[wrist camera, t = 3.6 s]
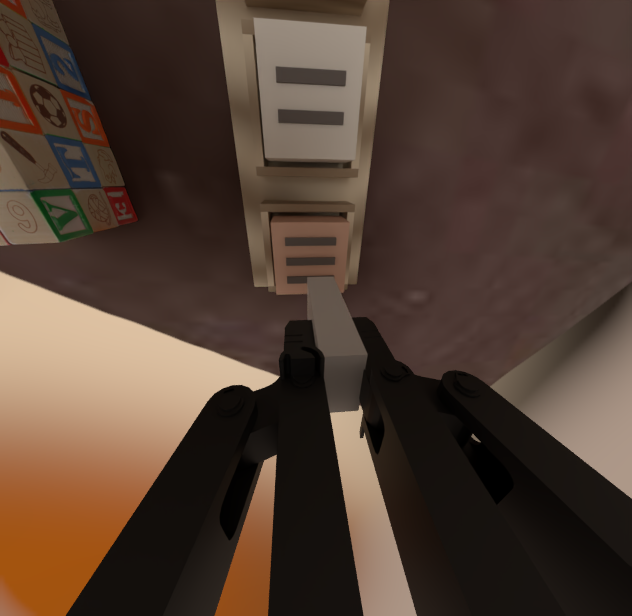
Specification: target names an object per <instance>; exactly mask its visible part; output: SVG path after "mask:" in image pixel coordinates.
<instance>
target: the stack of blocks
mask: <svg viewBox="0 0 632 616" xmlns="http://www.w3.org/2000/svg"><path fill="white" fill-rule="evenodd" d="M124 186H125V183H124V181H123V178H122V176H121V173H120V170H119V168H118V165H117V163H116V160H115V158H114V155H113V153H112V151H111V149H110V146H109V142H108V140H107V137H106V134H105V132H104V129H103V126H102V124H101V121H100V118H99V116H98V114H97V111H96V108H95V106H94V104H93V103H92V101H91V98H90V95H89V93H88V90H87V88H86V85H85V83H84V80H83V77H82V75H81V72H80V70H79V67H78V65H77V62H76V60H75V57H74V54H73V52H72V50H71V48H70V47H69V43H68V40H67V37H66V35H65V32H64V30H63V27H62V25H61V22H60V20H59V17H58V14H57V12H56V9H55V7H54V4H53V1H52V0H0V246H6V245H12V244H37V243H58V242H64V241H68V240H71V239H75V238H79V237H82V236H86V235H90V234H93V232H98V231H103V230H106V229H111V228H115V227H118V226H119V225H124V224H129V223H133V222H136V221H138V218H137V216H136V214H135V211H134V209H133V206H132V204H131V201H130V199H129V196H128V194H127V192H126V189H125V188H124Z"/></svg>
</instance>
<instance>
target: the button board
mask: <svg viewBox="0 0 632 616" xmlns="http://www.w3.org/2000/svg"><path fill="white" fill-rule="evenodd" d="M216 7H217V15H218V22H219V29H220V37H221V44H222V51H223V59H224V66H225V73H226V81H227V88H228V95H229V103H230V110H231V117H232V125H233V132H234V140H235V147H236V154H237V162H238V169H239V176H240V184H241V191H242V198H243V206H244V213H245V220H246V228H247V235H248V242H249V250H250V257H251V264H252V272H253V279H254V286H255V287H268V290H269V292H276V282H275V270H274V258H273V246H272V234H271V220H272V218H273V216H342V217H343V218H344V219H346V220H347V221H349V222H350V226H349V237H348V249H347V261H346V272H345V284H344V290H347V286H348V284H357V275H358V267H359V258H360V250H361V241H362V232H363V224H364V215H365V207H366V198H367V189H368V181H369V172H370V163H371V155H372V146H373V138H374V129H375V120H376V112H377V103H378V95H379V86H380V77H381V69H382V60H383V51H384V43H385V34H386V26H387V17H388V8H389V0H216ZM254 18H265V19H278V20H290V21H302V22H314V23H327V24H339V25H351V26H364V27H367V29H366V41H365V52H364V64H363V75H362V87H361V99H360V110H359V122H358V133H357V145H356V156H355V160H353V161H350V162H346V163H322V162H280V161H269V160H267V159H266V158H265V150H264V138H263V126H262V114H261V102H260V90H259V78H258V66H257V54H256V42H255V30H254Z"/></svg>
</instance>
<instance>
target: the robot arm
mask: <svg viewBox="0 0 632 616" xmlns="http://www.w3.org/2000/svg"><path fill="white" fill-rule="evenodd" d="M307 318H308V320H298V321H289V323H288V324H287V326H286V327H285V339H284V351H283V352H282V353H281V355H280V358H279V367H280V377H279V378H278V379H277V381H276V382H274V383H273V384H271V385H269V386H267V387H265V388H262V389H259V390H256V391H252V390H251V389H250V388H249V387H246V386H242V385H232V386H229V387H226V388H223V389H221V390H220V391H218V392H217V393H215V394H214V395H213V396H212V397H211V398H210V399H209V401H208V402H207V403H206V405H205V406H204V408H203V409H202V411H201V412H200V414H199V415H198V417H197V418H196V420H195V421H194V423H193V424H192V426H191V428H190V429H189V430H188V432H187V433H186V435H185V437H184V438H183V440H182V441H181V442H180V444H179V446H178V447H177V449H176V450H175V452H174V453H173V455H172V456H171V458H170V459H169V461H168V462H167V464H166V465H165V467H164V468H163V470H162V471H161V473H160V474H159V476H158V477H157V479H156V480H155V482H154V483H153V485H152V486H151V488H150V489H149V491H148V492H147V494H146V495H145V497H144V498H143V500H142V501H141V503H140V504H139V506H138V507H137V509H136V510H135V512H134V513H133V515H132V516H131V518H130V519H129V521H128V522H127V524H126V525H125V527H124V528H123V530H122V532H121V533H120V535H119V536H118V538H117V539H116V541H115V542H114V544H113V545H112V547H111V548H110V550H109V551H108V553H107V554H106V556H105V557H104V559H103V560H102V562H101V563H100V565H99V566H98V568H97V569H96V571H95V572H94V574H93V575H92V577H91V579H90V580H89V581H88V583H87V584H86V586H85V587H84V589H83V590H82V592H81V593H80V595H79V596H78V598H77V599H76V601H75V602H74V604H73V606H72V607H71V608H70V610H69V611H68V613H67V614H66V616H214V615H215V612H216V609H217V606H218V603H219V600H220V597H221V593H222V590H223V587H224V584H225V581H226V578H227V575H228V571H229V568H230V565H231V562H232V559H233V556H234V553H235V549H236V546H237V543H238V540H239V537H240V534H241V531H242V527H243V525H244V521H245V518H246V515H247V512H248V509H249V506H250V503H251V500H252V496H253V493H254V490H255V487H256V484H257V481H258V478H259V475H260V471H261V468H262V465H263V462H264V460H266V459H268V458H270V457H272V456H274V455H277V459H276V480H275V497H274V498H275V499H274V515H273V535H272V553H271V571H270V590H269V609H268V616H363V610H362V604H361V598H360V592H359V586H358V580H357V574H356V568H355V562H354V556H353V550H352V544H351V537H350V531H349V525H348V519H347V513H346V507H345V501H344V495H343V490H342V484H341V477H340V471H339V466H338V459H337V453H336V447H335V441H334V435H333V429H332V423H331V417H330V413H331V412H345V411H357V410H358V409H359V403H361V406H362V410H363V417H362V422H361V427H360V438H363V436H364V432H365V435H366V439H367V443H368V446H369V449H370V453H371V456H372V460H373V463H374V467H375V471H376V474H377V478H378V481H379V485H380V488H381V491H382V495H383V499H384V502H385V505H386V509H387V512H388V516H389V520H390V523H391V527H392V530H393V534H394V537H395V540H396V544H397V547H398V551H399V554H400V558H401V561H402V565H403V568H404V572H405V575H406V579H407V582H408V586H409V589H410V593H411V596H412V600H413V603H414V607H415V610H416V614H417V616H632V499H631V498H630V497H629V496H627V495H626V494H625V493H624V492H622V491H621V490H620V489H618V488H617V487H616V486H615V485H613V484H612V483H611V482H610V481H608V480H607V479H606V478H605V477H603V476H602V475H601V474H599V473H598V472H597V471H596V470H594V469H593V468H592V467H590V466H589V465H588V464H587V463H586V462H584V461H583V460H582V459H580V458H579V457H578V456H577V455H575V454H574V453H573V452H571V451H570V450H569V449H568V448H567V447H565V446H564V445H562V444H561V443H560V442H559V441H558V440H556V439H555V438H554V437H553V436H551V435H550V434H549V433H547V432H546V431H545V430H544V429H542V428H541V427H540V426H539V425H537V424H536V423H535V422H533V421H532V420H531V419H530V418H529V417H527V416H526V415H525V414H523V413H522V412H521V411H519V410H518V409H517V408H516V407H515V406H513V405H512V404H511V403H509V402H508V401H507V400H506V399H504V398H503V397H502V396H501V395H499V394H498V393H497V392H495V391H494V390H493V389H492V388H491V387H489V386H488V385H487V384H485V383H484V382H483V381H481V380H480V379H478V378H477V377H475V376H473V375H471V374H468V373H466V372H462V371H456V370H455V371H448V372H446V373H444V374H443V376H442V379H441V380H436V379H431V378H426V377H421V376H417V375H414V373H413V372H412V371H411V369H410V368H409V367H408V366H406V365H405V364H403V363H402V362H399V361H396V360H395V359H394V357H393V355H392V353H391V352H390V350H389V348H388V346H387V345H386V343H385V341H384V340H383V338H382V336H381V334H380V333H379V332H378V329H377V327H376V326H375V324H374V323H373V322H372V321H371V320H369V319H368V318H367V317H356V318H351V315H350V313H349V311H348V308H347V306H346V304H345V301H344V299H343V297H342V295H341V292H340V290H339V288H338V285H337V283H336V281H335V279H334V277H307ZM472 434H474V435H475V436H476V437H477V438H478V439H479V440H480V441H481V443H480V442H477V441H475V440H474V439H473V438H472V437H471V436H472Z"/></svg>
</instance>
